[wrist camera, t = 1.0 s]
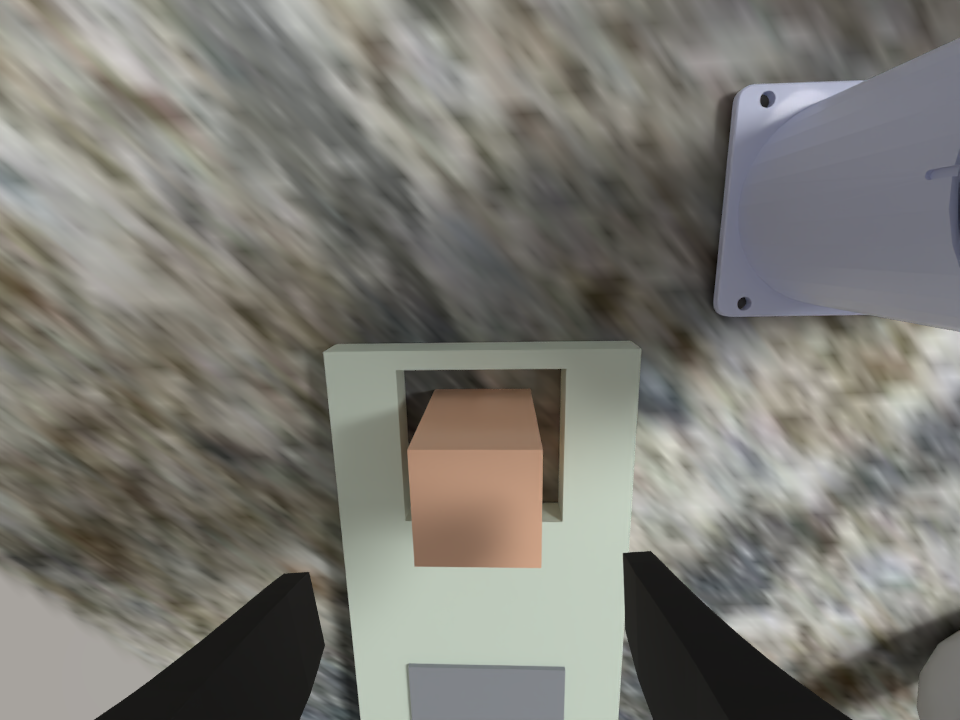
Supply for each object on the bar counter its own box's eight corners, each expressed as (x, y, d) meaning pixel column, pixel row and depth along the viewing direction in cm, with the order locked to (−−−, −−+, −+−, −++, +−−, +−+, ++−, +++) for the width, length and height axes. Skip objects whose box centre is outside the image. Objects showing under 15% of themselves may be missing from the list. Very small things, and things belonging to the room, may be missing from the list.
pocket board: (630, 340, 19) (643, 349, 17) (606, 761, 24) (614, 799, 22) (336, 343, 19) (321, 353, 18) (375, 754, 24) (366, 791, 23)
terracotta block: (530, 388, 19) (542, 449, 14) (529, 475, 20) (541, 567, 15) (435, 388, 20) (407, 449, 14) (438, 475, 21) (414, 566, 15)
